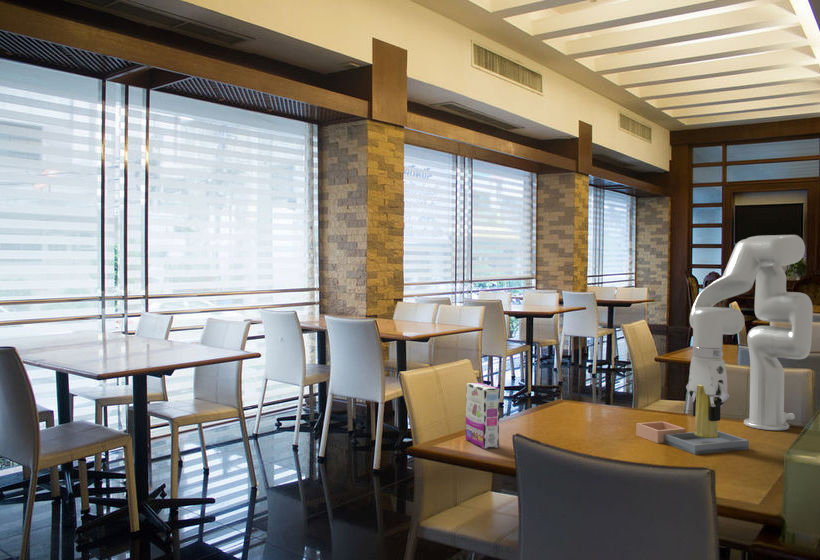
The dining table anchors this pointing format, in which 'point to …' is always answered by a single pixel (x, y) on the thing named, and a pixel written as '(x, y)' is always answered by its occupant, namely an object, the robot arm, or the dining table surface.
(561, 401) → the dining table surface
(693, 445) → the tray
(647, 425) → the holder
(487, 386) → the candy bar box
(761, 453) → the dining table surface
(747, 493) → the dining table surface
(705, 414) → the vase
